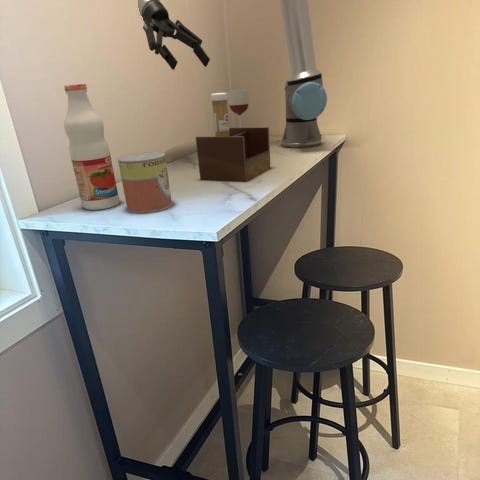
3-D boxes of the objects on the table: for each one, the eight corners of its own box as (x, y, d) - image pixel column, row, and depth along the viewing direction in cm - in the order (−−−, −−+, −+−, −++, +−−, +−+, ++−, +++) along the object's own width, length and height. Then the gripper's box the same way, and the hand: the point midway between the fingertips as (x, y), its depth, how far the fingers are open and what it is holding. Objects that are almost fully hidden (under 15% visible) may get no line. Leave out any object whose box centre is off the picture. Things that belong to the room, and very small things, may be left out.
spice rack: (228, 167, 151) (225, 127, 146) (270, 168, 145) (268, 127, 139) (200, 179, 138) (195, 137, 132) (245, 181, 131) (242, 136, 125)
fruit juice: (97, 199, 125) (72, 84, 112) (127, 200, 122) (104, 82, 108) (75, 209, 118) (44, 87, 104) (105, 211, 114) (78, 84, 101)
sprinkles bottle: (227, 143, 136) (223, 93, 129) (213, 144, 137) (208, 94, 131) (232, 141, 140) (228, 91, 133) (218, 141, 141) (214, 92, 135)
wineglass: (232, 143, 194) (228, 90, 184) (253, 142, 193) (250, 88, 183) (229, 146, 187) (225, 92, 178) (251, 145, 186) (247, 90, 176)
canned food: (163, 212, 109) (155, 160, 104) (119, 213, 112) (109, 162, 106) (178, 199, 119) (171, 151, 113) (137, 200, 121) (128, 153, 115)
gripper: (177, 22, 152) (214, 71, 151) (114, 22, 137) (155, 77, 135) (186, 0, 147) (225, 51, 145) (122, -2, 131) (164, 55, 129)
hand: (191, 64), depth 140 cm, fingers open, 13 cm apart
